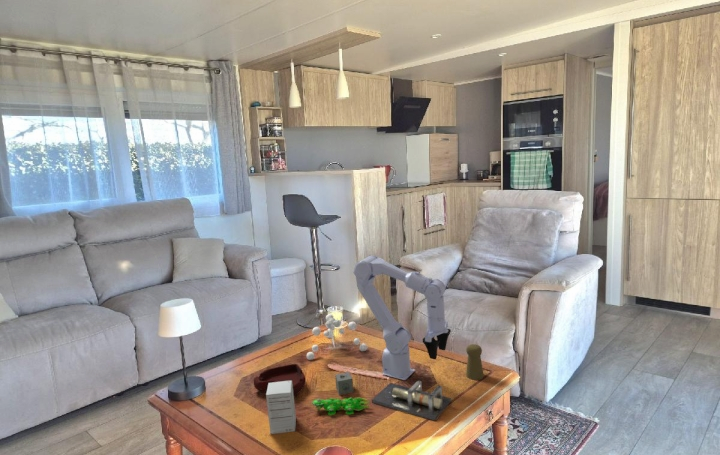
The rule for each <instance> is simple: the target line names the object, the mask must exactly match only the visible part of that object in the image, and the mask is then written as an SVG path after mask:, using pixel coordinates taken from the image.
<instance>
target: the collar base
mask: <svg viewBox="0 0 720 455" xmlns="http://www.w3.org/2000/svg"><path fill="white" fill-rule="evenodd" d="M442 386H443V385H439V384H438V385H437V386H436V387H435V388H434V389H433V391H432V392H429V391H423V389H422V388H423V387H422V381H421V380H417V381H416V382H415V383H414V384H413V385H411V387H408V386H406V385H405V386H404V385H402V384H401V385H400V384H397V383H392V382H389V383H388V384H387V385H386V386H385V387H384V388H383V389H381V391H380V392H378V393H377V395H375V396H374V397H373V398H372V399H371V403H372V404H376V405H379V406H382V407H386V408H390V409H393V410H395V411H400V412H404V413H407V414H409V415H414V416H418V417H421V418H424V419H428V420H430V421H431V420H432V421H434V422H436V421H437V419H439V417H440V416H441V414H442V413H443V412H444V411H445V409H446V408H447V407H448V406H449V404H450V403H451V402H452V398H451V397H447V396H444V395H443V387H442ZM394 387H396V388H400V389H404V390H408V391H407V393H408V401H407V400H403V399H399V398H396V397H393V396H392V391H393V389H394ZM413 392H416V393H420V394H424V395H427V396H428V404H429V406H425V405H421V404H418V403H414V402H413ZM434 397H435V398H439V399H442V401H443V404H442V408H441V409H436V408H434Z"/></svg>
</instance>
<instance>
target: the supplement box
mask: <svg viewBox="0 0 720 455" xmlns="http://www.w3.org/2000/svg"><path fill="white" fill-rule="evenodd" d="M265 397H266V405H267V415H268V424H269V433H270V434H272V435H274V434H283V433H291V432H295V431H296V423H297V422H296V421H297V415H296V405H295V396H294V394H293V385H292V381H281V382H272V383H268V388H267V391H266V393H265Z"/></svg>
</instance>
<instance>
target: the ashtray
mask: <svg viewBox="0 0 720 455" xmlns="http://www.w3.org/2000/svg"><path fill="white" fill-rule="evenodd" d="M281 381H292V385H293V394H294V397H296V395H297V394H299V393H300V392H302V390H303V389H304V388H305V385H306V375H305V374H304V372H303V370H302V367H300V366H299V364H297V363H293V364H285V365H282V366H276V367H272V368H271V367H270V368H267V369H265V370H263V371H262V372H260V374H259V376H255V377H254V378H253V387H254V388H255V389H256V390H257V391H259V392H260V391H261V392H260V393H265V392H264V391H266V392H267V388H268V383H272V382H281Z"/></svg>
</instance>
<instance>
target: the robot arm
mask: <svg viewBox="0 0 720 455" xmlns="http://www.w3.org/2000/svg"><path fill="white" fill-rule="evenodd" d="M352 272H353V274H354V276H355V281H356V282H355V283H356V288H357V289H358V291H359V292H360V294H361V296H362V298H363V299H364V301H365V302H366V304H367V306H368V307H369V309H370V310H371V312H372V314H373V316H374V317H375V318H376V320H377V323H379V326H380V327H381V328H382V332H383V333H382V334H383V336H382V339H383V340H384V341H385V348H384V349H383V351H382V352H383V353H382V358H381V359H382V374H384V375H383V376H385V375H388V376H387V377H391V378H395V379H397V380H403V381H406V380H407V379H408V378H409V377H410V376H412V375H413V373H414V372H416V369H414V368H411V358H410V346H409V343H410V342H411V340H412V335H411V332H410V331H409V330H408V329H406V328H405V326H404V325H403V324H402V323H401V322H398V321H396V319H395V317H394V316H393V314H392V313H391V311H390V310H389V308H388V306H387V304H386V303H385V301H384V299H383V298H382V296H381V295H380V294H379V292H378V290H377V288H376V287H375V285H374V281H375V279H376V276H379V275H380V276H381V275H386V276H388V277H390V278H392V279H395V280H398V281H401V282H404V286H405V287H407V288H408V289H411V290H412V291H415V292H418V293H420V294H422V295H424V297H425V299H426V310H427V329H426V334H425V335H424V337H423V338H422V343H423V345H424V347H425V348H426V351H427V353H428V356H429V359H431V360H437V356H438V350H441V351H446V348H447V344H448V339H449V335H450V333H451V332H452V331H451V329H450V328H448V327H449V325H448V324H449V321H446V320H445V318H446V314H445V302H444V301H445V300H444V297H445V296H444V294H445V292H446V285H445V283H444V282H443V281H442V280H440V279H439V278H435V279H433V278H431V277H426V275H425V276H424V275H422V274H421V273H420V271H411V272H407V271H405V270H403V269H401V268H400V267H397V266H395V265H394V264H391V263H390V262H388V261H386V260H385V259H383V258H382V257H378V256H377V255H374V254H372V255H368V256H367V257H365V258H364V259H362V260H359V261H358V262H356V263H355V266H354V269H353V271H352ZM435 337H436V338H435ZM382 374H381V375H382Z"/></svg>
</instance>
